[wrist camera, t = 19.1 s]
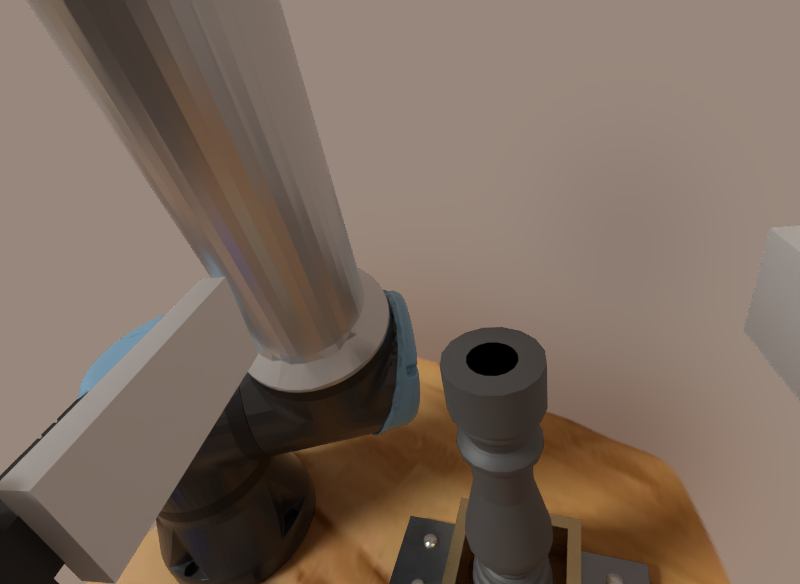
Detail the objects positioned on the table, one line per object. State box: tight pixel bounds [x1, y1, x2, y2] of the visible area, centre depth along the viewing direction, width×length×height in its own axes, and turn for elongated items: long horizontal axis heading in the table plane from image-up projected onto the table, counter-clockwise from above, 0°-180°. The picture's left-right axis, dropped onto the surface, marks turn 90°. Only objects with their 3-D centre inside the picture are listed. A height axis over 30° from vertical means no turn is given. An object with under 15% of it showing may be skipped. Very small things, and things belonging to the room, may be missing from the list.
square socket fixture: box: [389, 498, 650, 584], centre depth 37 cm, size 20×10×4 cm, turn 72°
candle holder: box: [440, 327, 554, 584], centre depth 31 cm, size 6×6×25 cm
